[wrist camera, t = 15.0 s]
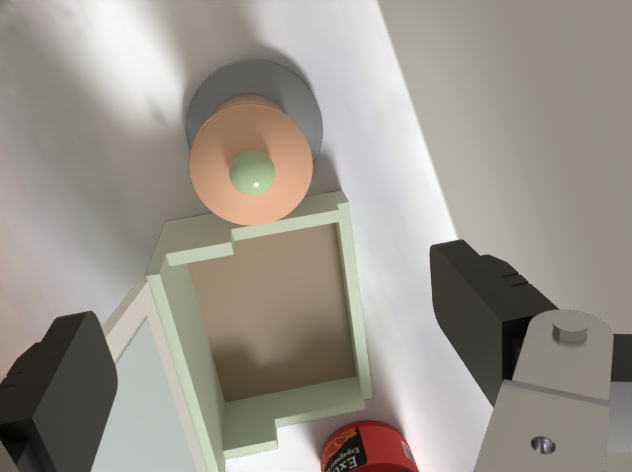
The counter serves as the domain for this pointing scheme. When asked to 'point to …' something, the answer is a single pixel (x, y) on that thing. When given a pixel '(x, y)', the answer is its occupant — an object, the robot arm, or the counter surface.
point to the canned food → (367, 449)
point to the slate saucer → (265, 82)
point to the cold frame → (262, 323)
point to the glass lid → (145, 396)
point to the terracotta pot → (250, 161)
